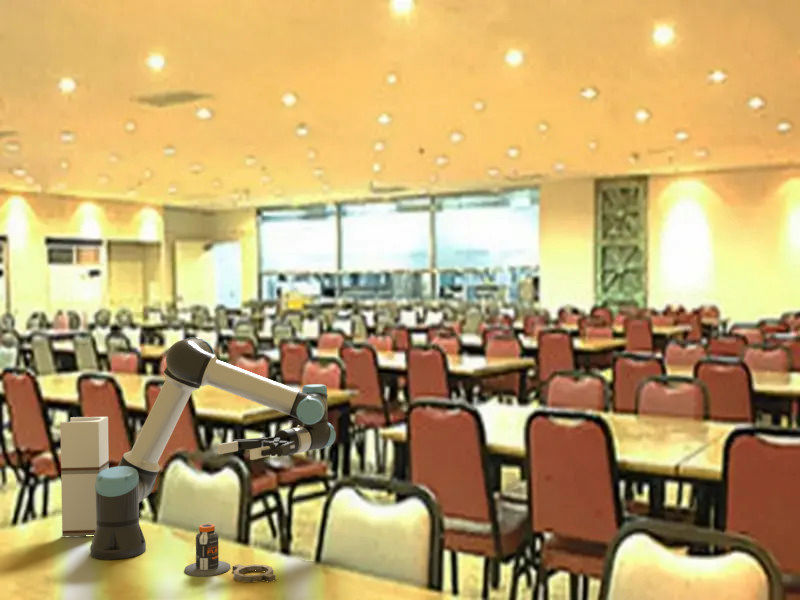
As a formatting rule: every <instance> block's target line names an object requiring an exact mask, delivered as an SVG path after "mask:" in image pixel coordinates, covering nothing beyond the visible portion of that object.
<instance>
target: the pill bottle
mask: <svg viewBox="0 0 800 600" xmlns="http://www.w3.org/2000/svg"><path fill="white" fill-rule="evenodd" d="M215 526H216V525H214V524H213V523H204V524H200V525H199V527H198V528H199V532H198V533H197V534H196V536H195V563H196V568H197V569H199V570H212V569H216V568H217V567H218V565H219V561H220V560H219V558H220V557H219V534H218V532H216V531H215V529H216V528H215Z"/></svg>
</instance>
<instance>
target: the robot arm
mask: <svg viewBox="0 0 800 600" xmlns="http://www.w3.org/2000/svg"><path fill="white" fill-rule="evenodd" d="M165 364H166V367H165V369H164V371H163V375H164V378H165V381H164V382H163V385H162V387H161V389H160V390H159V392H158V395H157V396H156V399H155V401H154V404H153V405H152V407H151V409H150V410H149V413H148V416H147V417H146V420H145V422H144V424H143V426H142V427H141V430H140V432H139V434H138V435H137V438H136V440H135V442H134V444H133V447H132V448H131V450H129V451H127V452H124V453H123V455H122V457H121V459H120V461H119V462H118V465H117V466H111V467H109V469H105V470H103V471H101V472H100V473H99V474H98V475H97V477H96V483H95V490H96V530H95V534H94V537H92V540H91V541H92V542H91V544H90V547H89V550H90V553H89V554H90V556H91V557H92V558H94V559H97V560H111V561H112V560H121V559H128V558H129V559H130V558H134V557H137V556H139V555H141V554H143V553H145V552H146V550H147V548H146V547H147V546H146V545H147V544H146V543H147V542H146V539H145V537H144V534H143V530H142V528H141V525H140V509H139V508H140V503H141V502H143V500H145V499H146V498H147V497H148V496H150V494H151V493H152V491H153V489H154V487H155V484H156V478H157V476H158V473H159V471H160V469H161V467H160V465H159V460H160V458H161V456H162V454H163V452H164V450H165V448H166V447H167V445H168V442H169V440H170V438H171V436H172V434H173V432H174V430H175V427H176V426H177V423H178V421H179V419H180V418H181V415H182V413H183V411H184V409H185V407H186V406H187V405H186V404H187V403H188V402H189V399H190V397H191V396H192V395H191V394H192V393H193V392H194V391H197V390H199V389H200V388H201V387H206V386H211V387H213V388H216V389H219V390H221V391H225V392H227V393H229V394H232V395H235V396H238V397H241V398H243V399H246V400H248V401H251V402H254V403H256V404H259V405H262V406H265V407H267V408H270V409H273V410H275V411H277V412H279V413H283V414H286V415H289V416H290V417H293V418H296V419H298V420H299V421H300V422H301V423H302V426H301V425H299V424H297V426H296V427H292V428H285V429H280V430H278V431H276V433H275V434H274V435H273V436H268V437H266V436H262V437H252V438H242V439H241V438H240V439H232V441H230V442H223V443H219V444H217V454H218V455H223V454H229V453H238V451H242V450H249V460H250V461H253V460H258V459H262V458H268V457H276V456H277V457H283V456H284V457H286V456H291V455H297V454H301V453H306V452H311V451H314V450H316V451H317V450H323V449H324V448H328V447H331V446H332V445H333V444H334V443H335V441H336V436H337V433H336V430H335V427H334V425H333V424H331V423H330V422H329V421H328V419H329V418H328V398H329V397H328V396H329V395H328V388H327V386H326V384H321V383H318V384H317V383H315V384H305V385H304V386H303V387H302V389H301V390H302V391H301V390H298V389H295V388H293V387H291V386H288V385H285V384H283V383H280V382H277V381H274V380H272V379H269V378H267V377H263V376H261V375H258V374H256V373H253V372H251V371H248V370H245V369H244V368H240V367H237V366H234V365H232V364H230V363H227V362H224V361H221V360H220V359H218V357H217V355H216V354H215V349H214V348H213V347H212V345H211V343H209V342H208V341H206V340H205V339H203V338H200V337H195V336H192V337H187V338H185V339H181V340H179V341H176V342H175V343H173V344H172V345H171V346H170V347H169V348H168V350H167V353H166V357H165Z"/></svg>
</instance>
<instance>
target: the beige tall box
mask: <svg viewBox="0 0 800 600" xmlns="http://www.w3.org/2000/svg"><path fill="white" fill-rule="evenodd" d="M59 424H60V426H59V427H60V428H59V429H60V431H59V432H60V475H61V476H60V477H61V483H60V484H61V537H62V536H86V535H94V534H95V530H96V490H95V483H96V477H97V475H98V474H99V473H100V472H101V471H103V470H105V469H109V468H110V461H109V456H110V454H109V453H110V451H109V416H90V417H89V416H76V417H75V416H73V417H70V421H60V423H59Z"/></svg>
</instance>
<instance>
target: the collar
mask: <svg viewBox="0 0 800 600" xmlns="http://www.w3.org/2000/svg"><path fill="white" fill-rule="evenodd" d="M255 570H256V571H255ZM233 571H234V572H233ZM248 571H253V572H260V571H265V572H266V573H265V572H262V573H261V574H260V573H259V574H253V575H252V574H245V573H244V572H246V573H249V572H248ZM232 572H233V579H234V580H235V579H237V580H236V581H238V580H239V581H238V582H241V581H245V582H244V583H254V582H253V581H258V582H266V581H268V582H267V583H269V582H270V583H272V582H271V581H273V580H275V581H276V574H274V569H273V567H272V566H269V565H266V564H249V565H242V564H235V565H232ZM242 573H243V574H242ZM262 580H264V581H262ZM273 582H274V581H273Z"/></svg>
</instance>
